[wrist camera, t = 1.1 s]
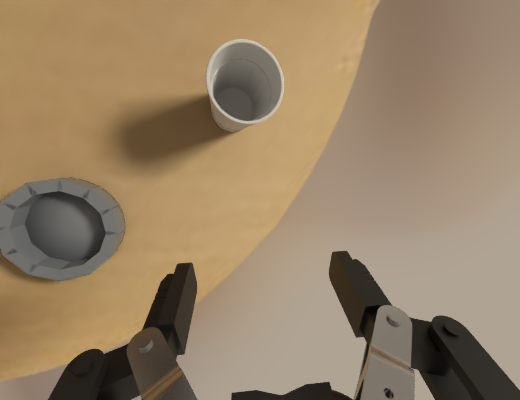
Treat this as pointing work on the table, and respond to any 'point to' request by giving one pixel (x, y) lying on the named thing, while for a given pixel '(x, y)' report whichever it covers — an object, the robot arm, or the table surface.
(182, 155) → the table surface
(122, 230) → the dish
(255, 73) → the cup
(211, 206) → the table surface
